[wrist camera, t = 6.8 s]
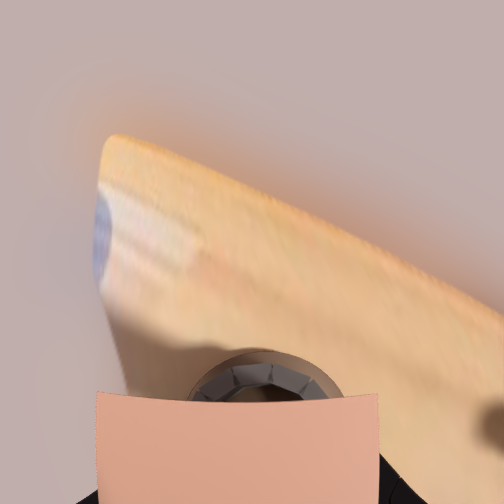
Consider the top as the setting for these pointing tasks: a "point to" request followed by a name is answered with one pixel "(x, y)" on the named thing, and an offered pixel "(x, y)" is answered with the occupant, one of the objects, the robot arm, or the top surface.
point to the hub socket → (264, 380)
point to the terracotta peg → (237, 451)
